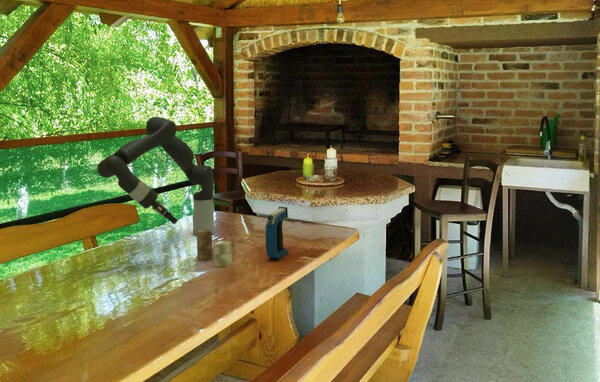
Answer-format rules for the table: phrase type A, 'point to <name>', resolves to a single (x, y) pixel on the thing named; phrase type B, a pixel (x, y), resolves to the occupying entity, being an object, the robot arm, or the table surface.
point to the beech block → (223, 254)
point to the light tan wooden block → (204, 245)
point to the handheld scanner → (275, 233)
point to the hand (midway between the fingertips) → (173, 220)
